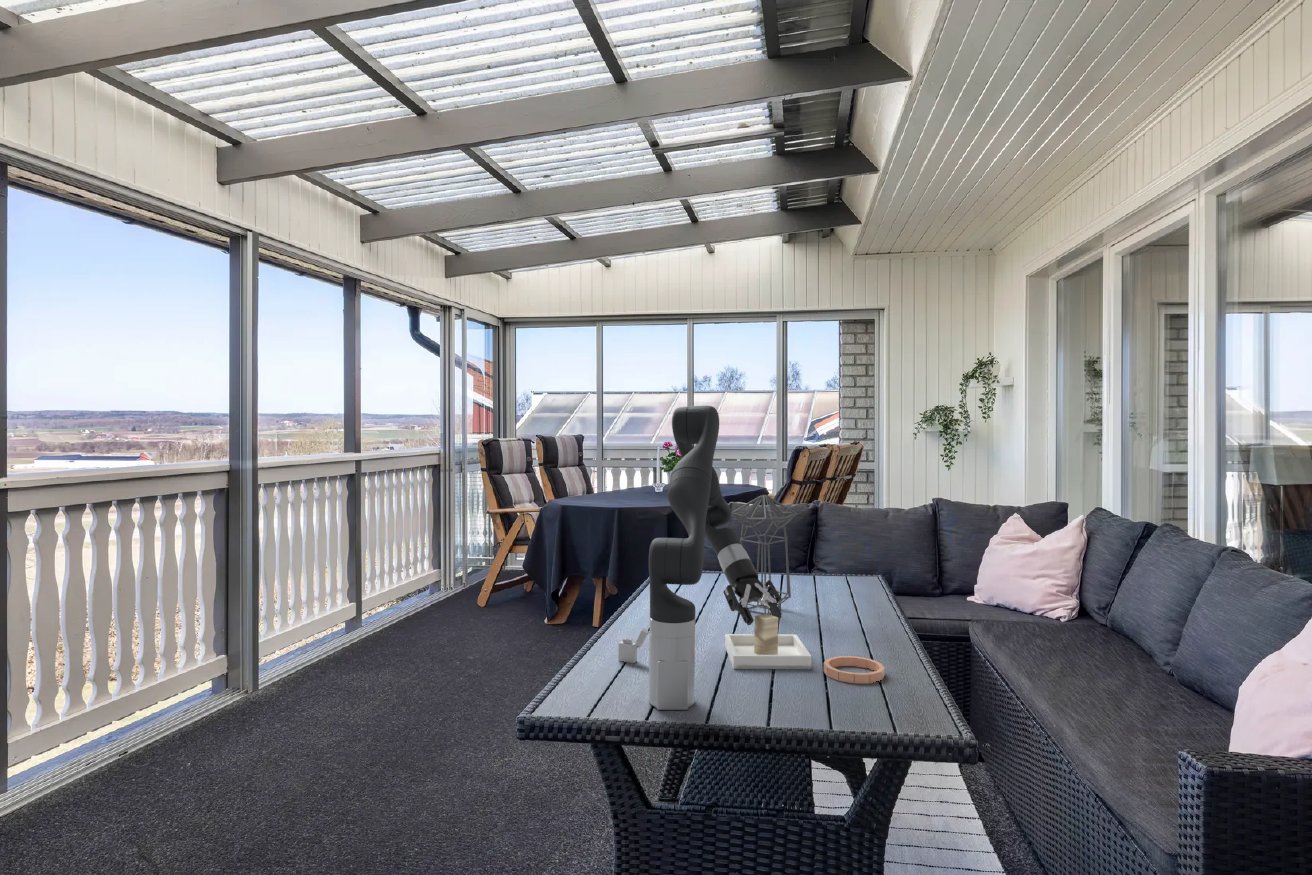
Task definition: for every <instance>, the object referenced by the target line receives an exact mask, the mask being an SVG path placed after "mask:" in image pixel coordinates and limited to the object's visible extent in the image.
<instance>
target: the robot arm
mask: <svg viewBox="0 0 1312 875" xmlns="http://www.w3.org/2000/svg"><path fill="white" fill-rule="evenodd" d="M671 428H672V429H671V430H672V435H673V439H674V442H675V444H676V447H677V449H678V451H679V453H680V454H679V455H680V456H681V459H680V460H679V461H678V462H677V463H676V464H675V465H674V467H673V469H672V471H671V473H670V478H669V482H668V488H667V499H668V503H669V505H670V507H671V508H672V510H673V511H674V514H675V515H676V516H677V517H678V519H679V520H680V522H681V523H682V525H683V526H684V528H685V530H686V533H687V536H688V537H687V538H685V537H684V538H681V537H656V538H654V539H653V540H651V543H650V545H649V550H648V574H649V578H648V579H649V646H648V647H649V648H648V650H649V653H648V655H649V656H648V659H649V660H648V661H649V662H648V665H649V667H648V702H649V704H650V705H651V706H652V707H655V708H656V710H661V711H662V710H663V711H664V710H665V711H667V710H668V711H669V710H671V711H673V710H674V711H677V710H679V711H681V710H683V711H687V710H689V708H690V707H692V706H693V705H694V704H695V685H696V684H695V681H696V680H695V673H696V670H695V669H696V668H695V666H696V665H695V663H696V605H695V603H694V602H692V601H691V600H689V599H686V598H684V597H682V596H680V595H677V594H676V593H675V592H673V591H672V590H671V589H670V588H669V587H668V585H681V586H682V585H684V586H691V585H696V584H698V583H699V582H700V580H701V578H702V575H703V571H704V570H703V569H704V559H705V540H707V541H708V542H709V544H710V546H711V547H712V549H713V551H714V552H715V555H716V558H717V559H718V561H719V565H720V567H721V569H722V571H723V573H724V575H725V578H726V580H727V582H728V585H727V586H726V587H725V588H724V589H723V595H724V597H725V599H726V602H727V604H728V606H729V609H730V610H731V611H732V612H735V611H736V612H738V613H739V614H740V615H741V617H742V620H743V622H744V623H745V624H746V625H747V626H750V625H752V624H753V623H754V622H755V619H754V617H753V616H752V615H753V614H751V613H752V612H751V611H749V610H750V609H748V608H749V606H748V607H747V608H746V605H747V603H748V604H750V603H752V601H753V602H754V603H757V602H756V601H759V602H760V603H759V604H760V605H761V604H764V605H766V606H768V607H769V613H770V612H771V614H770V615H772V616H775V617H778V621H779V620H780V619H781V618H782V612H781V611H780V610H779V605H777V604H779V603H778V602H780V601H781V598H782V597H781V595H780V593H778V592H777V591H778V590H777V588H776V587H775V585H774V583H773V582H772V580H771V581H770V580H769V579H767V580H766V583H764V582H763V583H761V580H760V579H759V572H758V573H757V568H755V565H754V564H753V562H752V560H751V558H750V556H749V554H748V552H747V551H746V549H745V548H744V547H743V546H742V545H741V543H740V539H739V537H738V534H737V533H736V531H735V530H734V529H732V528H731V527H724V528H723V527H722V528H719V527H721V526H724V525H726V524H728V523H729V522H730V521H731V519H732V517H733V515H732V513H731V512H732V510H731V508H730V506H729V505H728V503H727V500H725V498H724V496H723V494H722V491H721V486H720V480H719V476H718V473H717V471H716V469H715V468H714V467H713V463H714V456H715V453H716V452H715V451H716V447H717V443H718V436H719V432H720V415H719V412H718V410H717V408H716V407H715V406H712V405H691V406H679V407H676V408H675V409H674V411H673V412H672V418H671ZM694 445H695V446H694ZM762 594H763V598H761V597H762ZM737 595H738V596H739V597H738V596H737ZM737 597H738V598H737ZM766 599H768V600H769V601H770V602H769V601H767V600H766ZM749 602H750V603H749Z"/></svg>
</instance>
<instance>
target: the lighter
mask: <svg viewBox="0 0 1312 875" xmlns="http://www.w3.org/2000/svg"><path fill="white" fill-rule="evenodd" d="M649 634H650V630H648V629H646V628H642V629H641V631H640V633H639V635H638V637H637V639H636V641H635V642H634V641H633V638H628V637H625V638H622V640H621V641H620V642H618V662H622V661H624V663H631V664H635V663H636V661H637V662H638V648H641V647H642V646H643V644H644V643H645V641H646V639H647V636H648V635H649Z"/></svg>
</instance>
